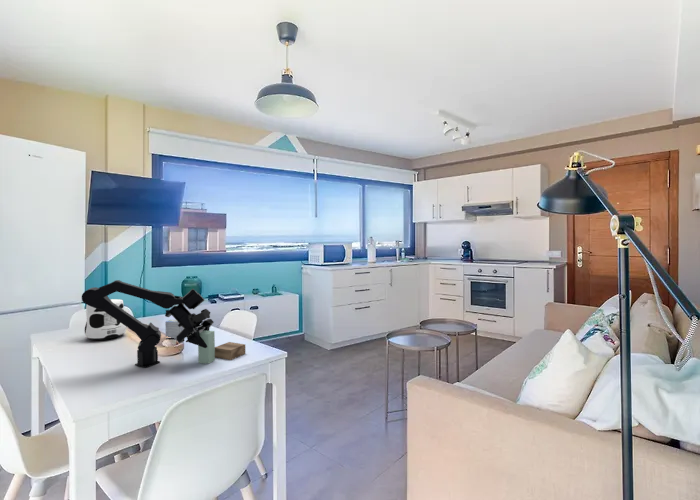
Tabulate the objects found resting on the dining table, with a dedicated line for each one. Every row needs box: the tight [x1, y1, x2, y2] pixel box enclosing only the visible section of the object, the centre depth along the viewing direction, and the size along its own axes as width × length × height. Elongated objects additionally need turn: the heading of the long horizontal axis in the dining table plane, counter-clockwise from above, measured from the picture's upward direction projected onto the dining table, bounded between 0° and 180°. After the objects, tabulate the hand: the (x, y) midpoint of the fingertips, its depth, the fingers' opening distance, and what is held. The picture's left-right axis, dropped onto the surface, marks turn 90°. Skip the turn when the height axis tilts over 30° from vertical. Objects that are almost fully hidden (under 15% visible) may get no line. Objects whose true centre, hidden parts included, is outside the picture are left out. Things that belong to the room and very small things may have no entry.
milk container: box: [84, 298, 127, 341], centre depth 185 cm, size 17×17×18 cm
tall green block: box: [197, 330, 216, 365], centre depth 149 cm, size 4×4×12 cm
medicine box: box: [164, 319, 184, 340], centre depth 184 cm, size 8×4×9 cm, turn 84°
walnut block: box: [215, 341, 246, 361], centre depth 157 cm, size 9×9×4 cm
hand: (209, 345), depth 149 cm, fingers closed on tall green block, 4 cm apart
